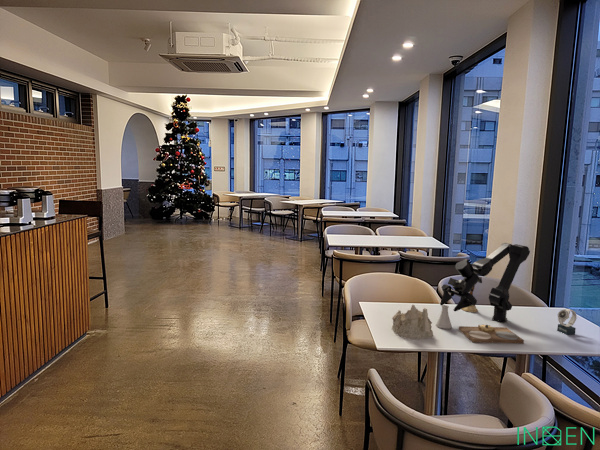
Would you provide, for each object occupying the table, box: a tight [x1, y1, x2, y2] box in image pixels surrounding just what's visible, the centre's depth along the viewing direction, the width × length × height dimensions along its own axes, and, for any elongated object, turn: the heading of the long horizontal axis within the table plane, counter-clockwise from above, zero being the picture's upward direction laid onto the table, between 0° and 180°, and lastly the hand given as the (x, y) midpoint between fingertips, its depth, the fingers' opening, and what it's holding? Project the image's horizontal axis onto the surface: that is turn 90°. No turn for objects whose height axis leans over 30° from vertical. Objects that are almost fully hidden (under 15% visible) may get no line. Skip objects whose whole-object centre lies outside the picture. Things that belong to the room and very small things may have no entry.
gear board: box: [458, 324, 525, 345], centre depth 186 cm, size 15×22×4 cm
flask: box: [435, 304, 452, 330], centre depth 197 cm, size 7×7×10 cm
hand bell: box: [461, 285, 479, 313], centre depth 222 cm, size 8×8×16 cm
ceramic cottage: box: [391, 304, 434, 340], centre depth 188 cm, size 16×16×15 cm
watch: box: [556, 308, 578, 336], centre depth 193 cm, size 6×8×11 cm
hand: (447, 307), depth 197 cm, fingers open, 9 cm apart
